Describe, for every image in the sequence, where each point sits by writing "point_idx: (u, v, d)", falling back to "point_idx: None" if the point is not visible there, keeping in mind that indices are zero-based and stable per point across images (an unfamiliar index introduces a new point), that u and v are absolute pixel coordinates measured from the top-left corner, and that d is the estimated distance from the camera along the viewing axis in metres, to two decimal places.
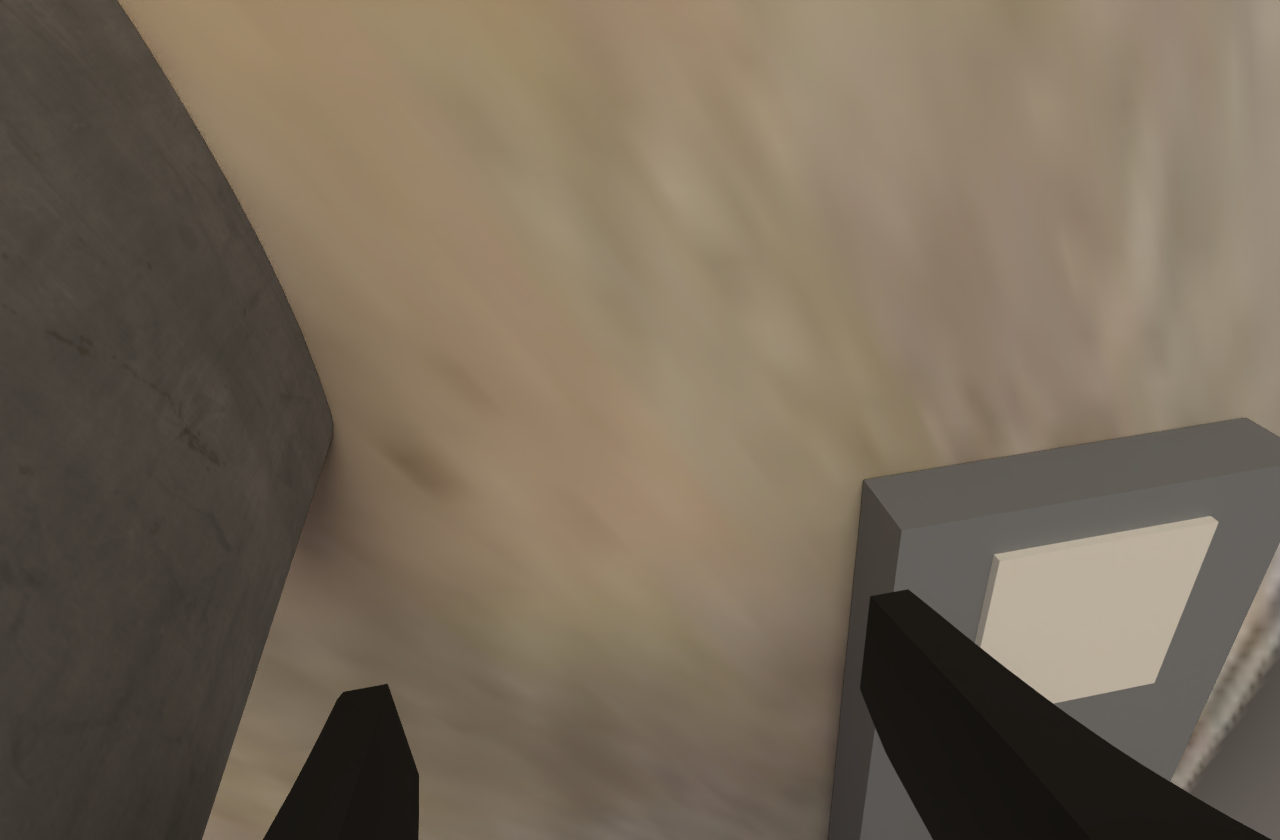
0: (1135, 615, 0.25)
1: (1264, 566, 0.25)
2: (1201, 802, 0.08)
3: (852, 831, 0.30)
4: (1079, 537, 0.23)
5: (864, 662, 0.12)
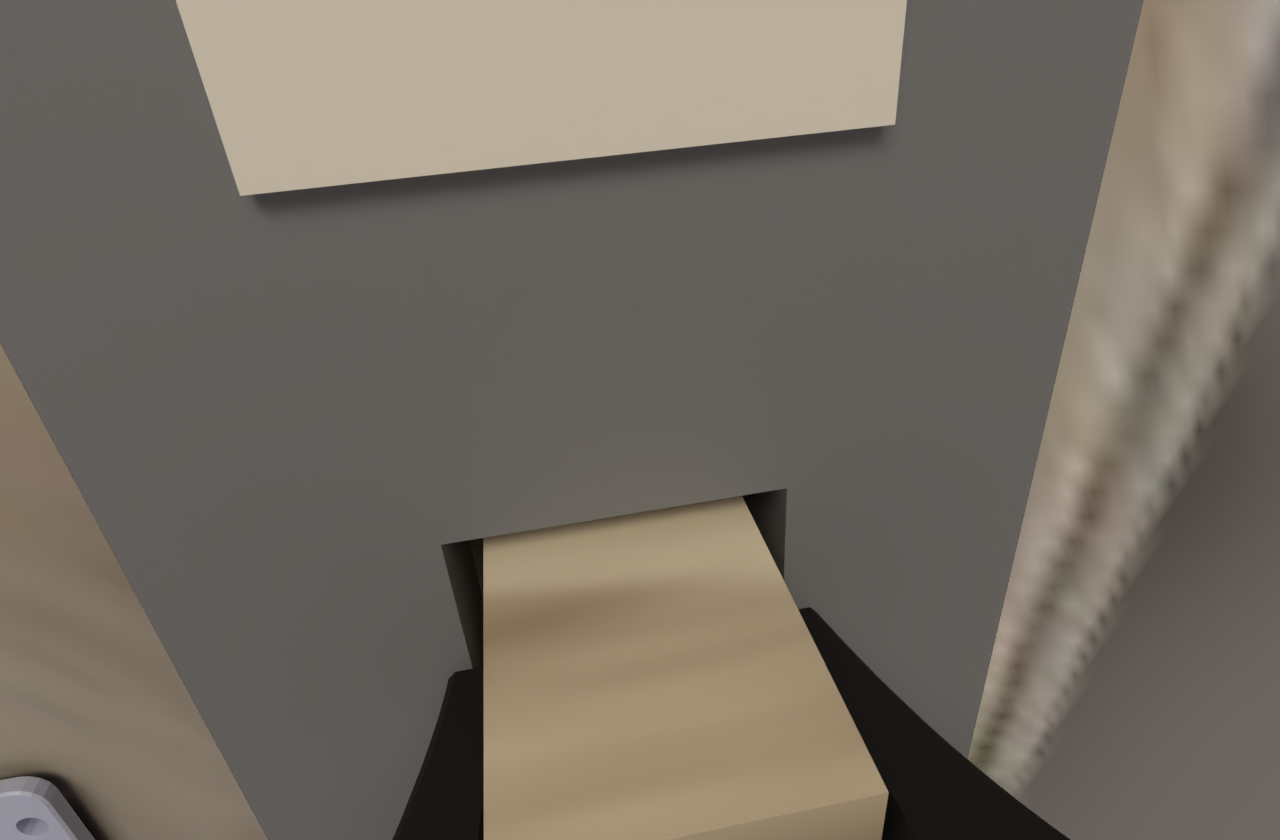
0: None
1: None
2: (1059, 834, 0.07)
3: None
4: None
5: None
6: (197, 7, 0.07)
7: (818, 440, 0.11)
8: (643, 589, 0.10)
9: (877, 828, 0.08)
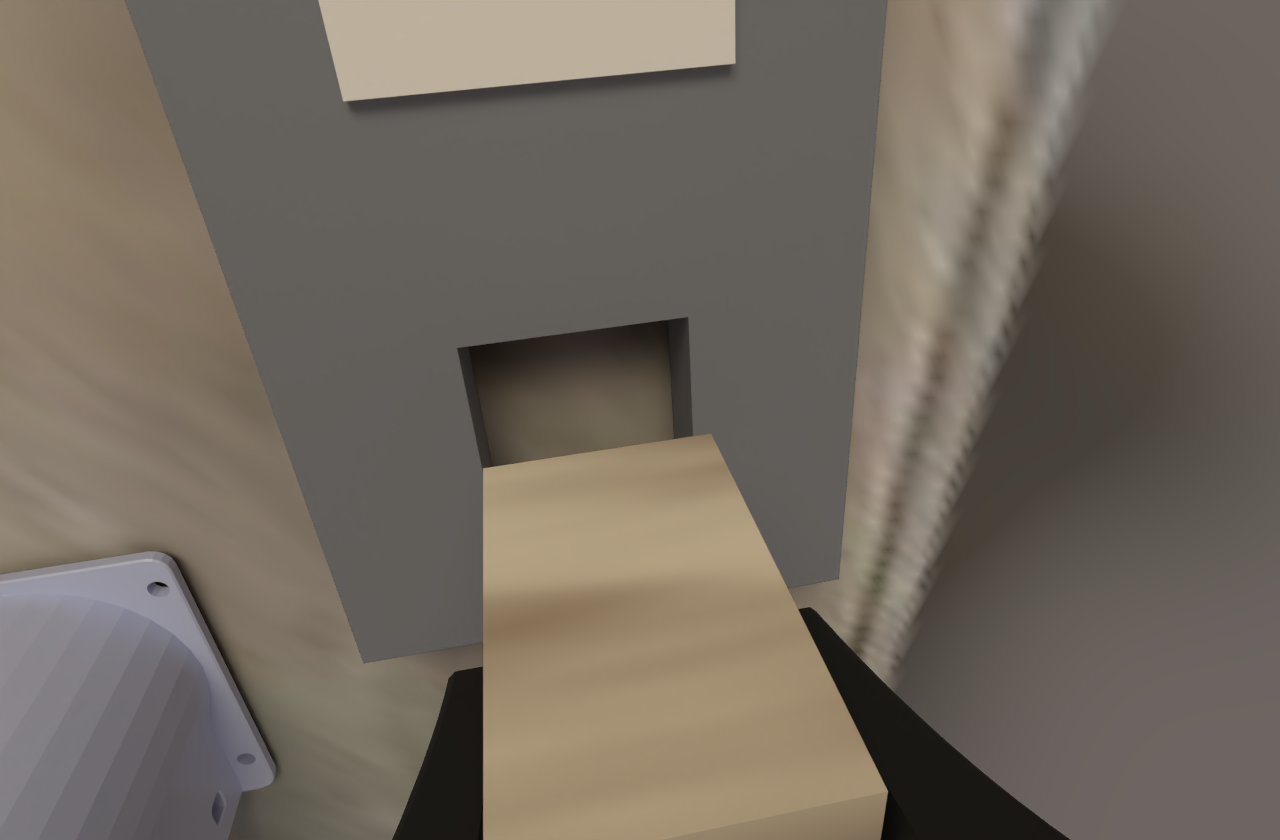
0: None
1: None
2: (1059, 834, 0.07)
3: None
4: None
5: None
6: None
7: (707, 281, 0.17)
8: (642, 588, 0.10)
9: (876, 826, 0.08)
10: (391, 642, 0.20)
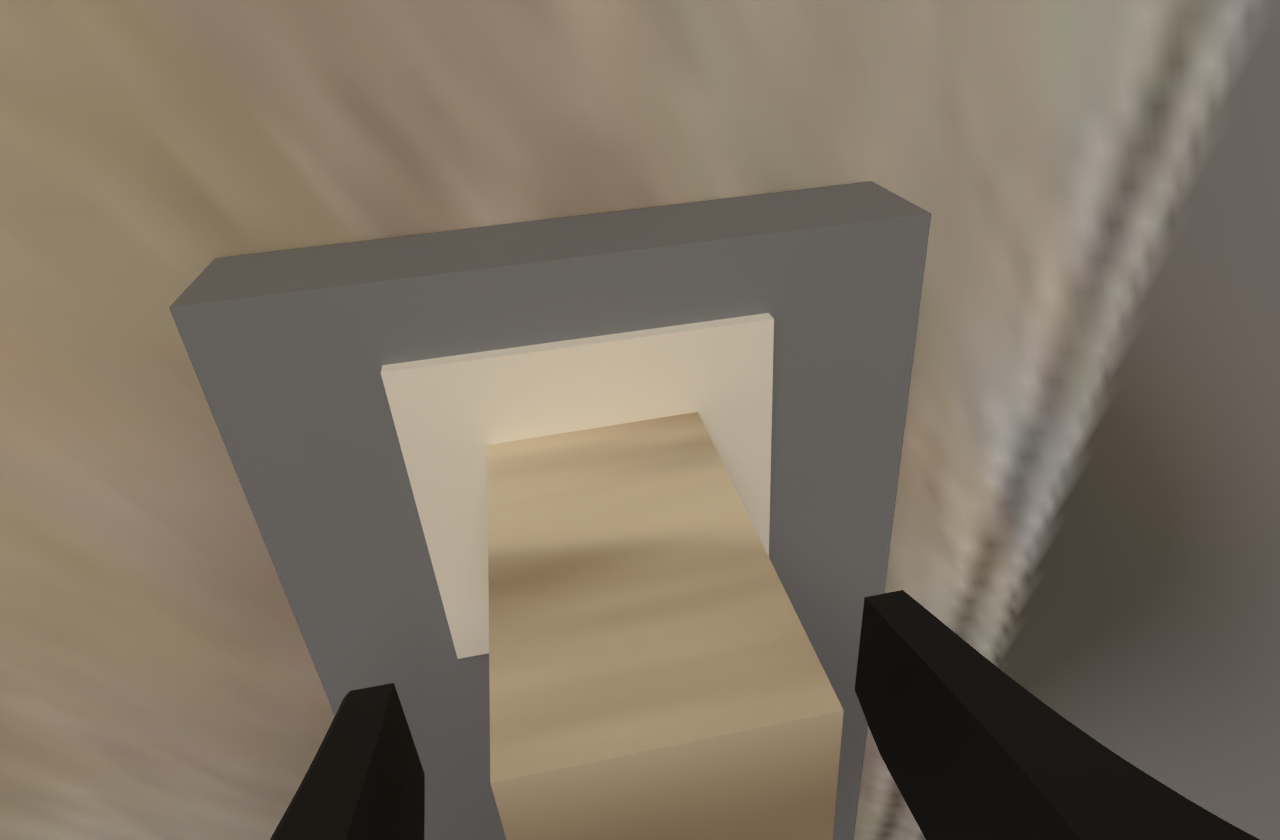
0: None
1: (899, 412, 0.16)
2: (1193, 804, 0.08)
3: None
4: (535, 340, 0.14)
5: (859, 663, 0.12)
6: (450, 599, 0.16)
7: None
8: (633, 547, 0.12)
9: (836, 746, 0.09)
10: None
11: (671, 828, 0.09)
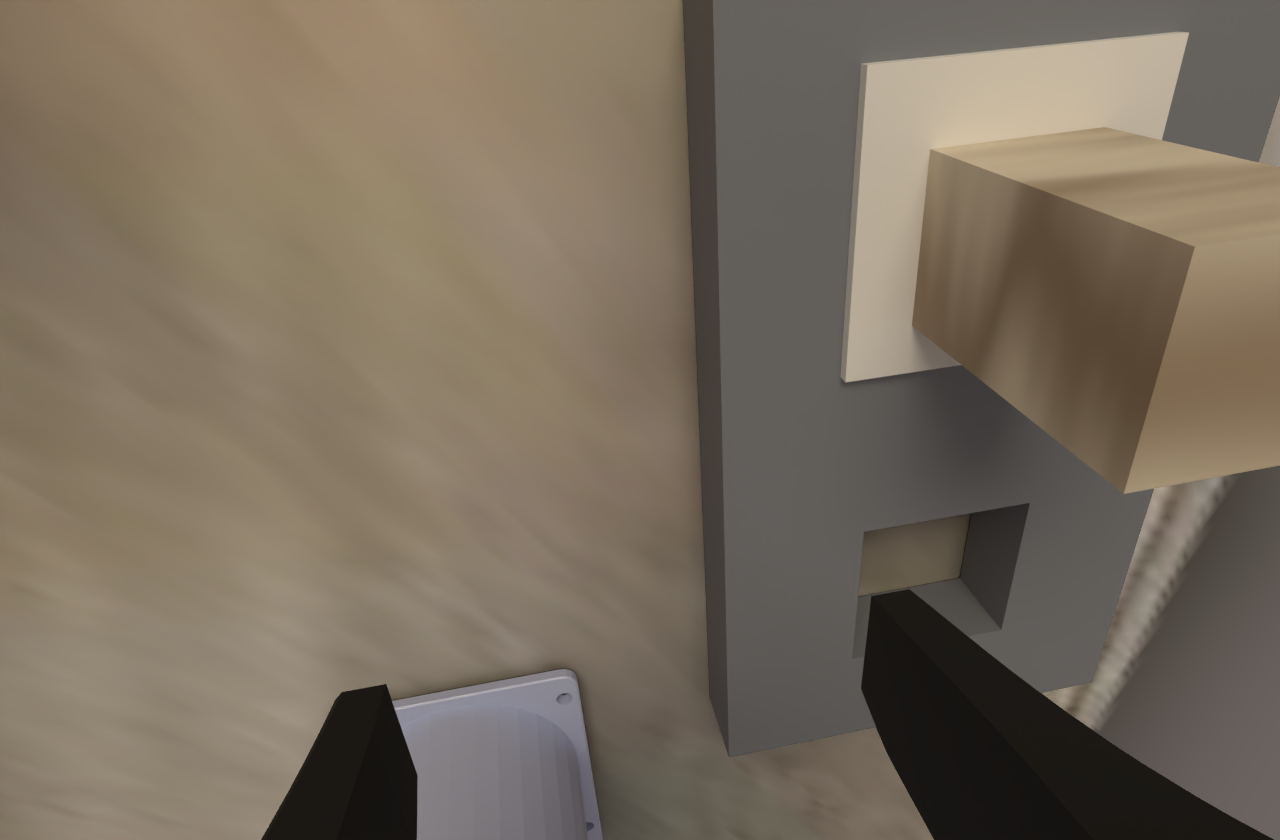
0: None
1: (1257, 146, 0.18)
2: (1202, 802, 0.08)
3: (720, 586, 0.22)
4: (986, 47, 0.16)
5: (865, 662, 0.12)
6: (855, 316, 0.18)
7: (1049, 478, 0.22)
8: (1149, 172, 0.13)
9: None
10: (753, 741, 0.25)
11: None
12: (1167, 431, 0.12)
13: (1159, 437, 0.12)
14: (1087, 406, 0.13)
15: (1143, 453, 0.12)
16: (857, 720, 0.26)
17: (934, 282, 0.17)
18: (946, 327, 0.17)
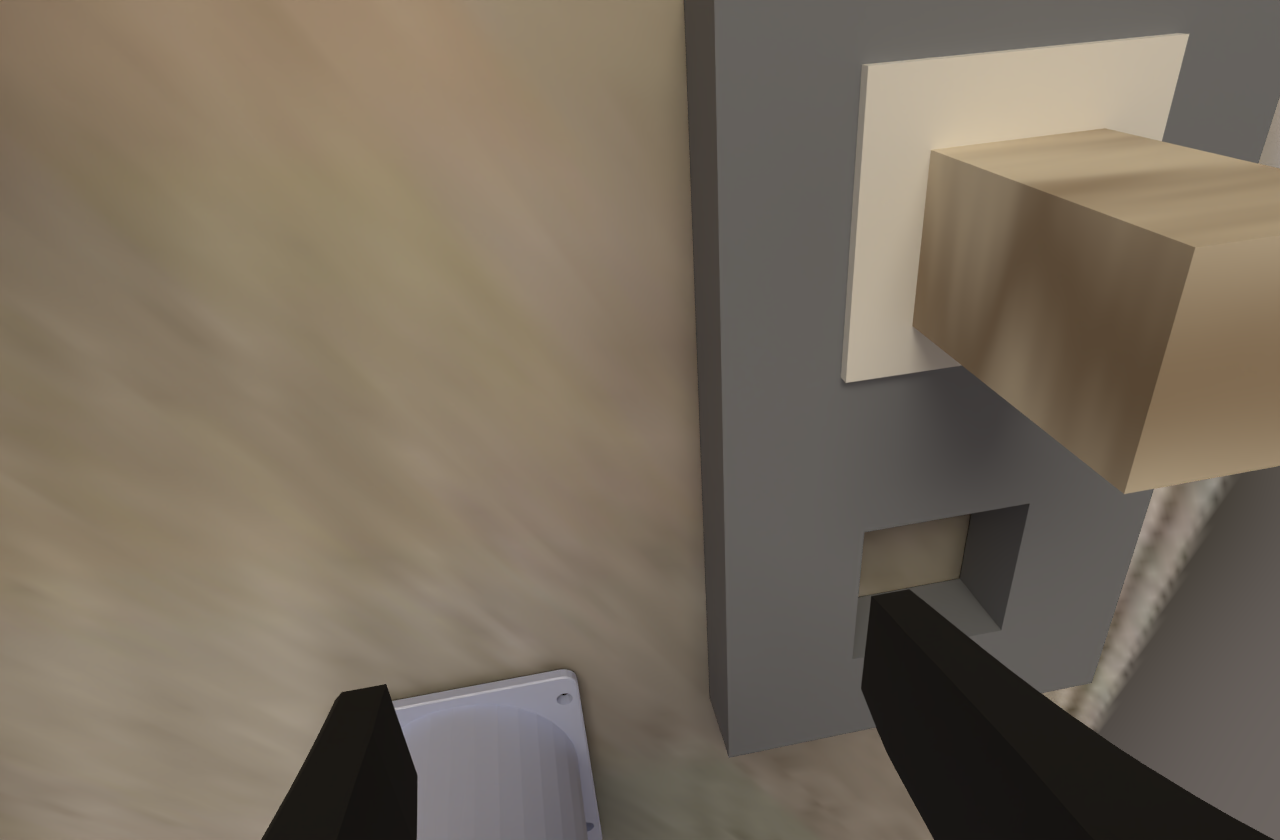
0: None
1: (1256, 148, 0.18)
2: (1203, 802, 0.08)
3: (720, 587, 0.22)
4: (987, 48, 0.16)
5: (865, 662, 0.12)
6: (856, 317, 0.18)
7: (1049, 479, 0.22)
8: (1150, 173, 0.13)
9: None
10: (753, 741, 0.25)
11: None
12: (1167, 431, 0.12)
13: (1159, 437, 0.12)
14: (1087, 406, 0.13)
15: (1143, 453, 0.12)
16: (857, 720, 0.26)
17: (934, 283, 0.17)
18: (946, 328, 0.17)
